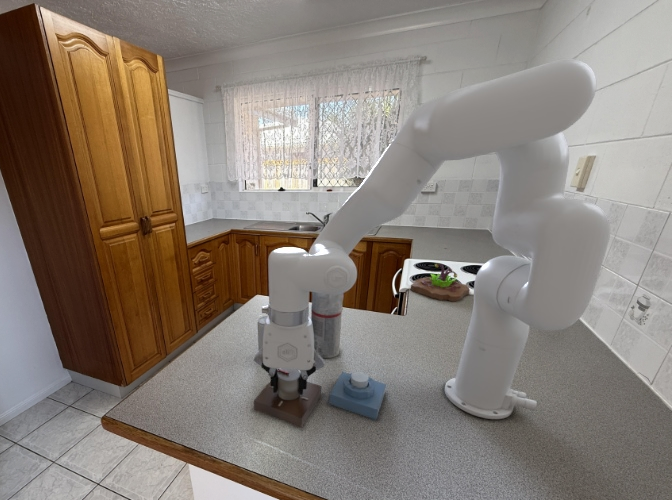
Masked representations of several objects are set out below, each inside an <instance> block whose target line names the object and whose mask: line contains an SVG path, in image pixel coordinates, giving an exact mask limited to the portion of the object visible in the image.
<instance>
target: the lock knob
mask: <svg viewBox="0 0 672 500" xmlns="http://www.w3.org/2000/svg"><path fill="white" fill-rule="evenodd" d="M300 373H301V372H300V370H291V369H278V373H277V387H278V395H279V397H280V398H282V399H284V400H294V399H296V398H297V397H298V396H299V395H300V394H299V387H300Z"/></svg>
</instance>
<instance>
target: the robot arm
mask: <svg viewBox="0 0 672 500" xmlns="http://www.w3.org/2000/svg"><path fill="white" fill-rule="evenodd" d="M596 91H597V78H596V74H595V72H594V70H593V68H592V67H591V66H590V65H588V63H586V62H584V61H583V60H580V59H575V58H560V59H555V60H552V61H549V62H546V63H543V64H542V63H541V64H540V65H536V66H533V67H530V68H527V69H524V70H523V69H522V70H520V71H517V72H513V73H510V74H507V75H504V76H500V77H497V78H494V79H490V80H486V81H482V82H478V83H475V84H471V85H468V86H467V85H466V86H464V87H460V88H456V89H454V90H451V91H448V92H446V93H444V94H442V95H440V96H437V97H434V98H432V99H430V100H427V101H426V102H424V103H422V104H420V106H418V107H417V108H415V110H413V112H412V113H411V114H410V115H409V116H408V118H407V119H406V120H405V122H404V123H403V125H402V126H401V127H400V129H399V130H398V132H397V133H396V134H395V135H394V137H393V139H392V140H391V141H390V143H389V144H388V146H387V147H386V149H385V151H383V153H382V155H381V156H379V158H378V160H377V162H376V163H375V164H374V166H373V167H372V169H371V170H370V171H369V173H368V175H367V176H366V177H365V178H364V180H363V181H362V183H361V184H360V185H359V186H358V188H357V189H355V190H354V191H353V193H351V195H350V196H349V197H348V199H346V200H345V202H344V203H343V204H342V205H341V206H340V207H339V208H338V209H337V210H336V211H335V213H334V214H333V215H332V216H331V218H330V219H329V220H328V221H327V223H326V224H325V226H324V227H323V228H322V230H321V231H320V232H319V234H318V236H317V237H316V239H315V240H314V242H313V243H312V244H311V246H310V249H309V250H308V251H306V250H305V249H303V248H299V247H280V248H277V249H276V248H275V249H274V250H272V251H271V252H270V253H269V254H268V259H267V265H268V266H267V269H268V271H267V272H268V303H269V304H268V305H264V306H261V313H262V314H266V315H267V316H268V317H267V319H266V321H265V326H264V334H263V347H262V349H261V350H260V351H259V350H258V352H256V354H255V355H254V357H253V362H254V363H256V364H257V365H259V366H261V368H262V370H264V371H265V372H266V373H267V375H268V377H270V378H269V380H270V381H269V382H270V383H271V386H272V387H273V393H276V392H277V389H278V387H277V373H278V370H279V369H291V370H298V371H299V372H300V387H299V394H300V395H303V389H306V388H307V382H308V379H309V377H310V376H311V375H313V374H314V373H316V371H318V370H321V369H322V368H324V367H325V366H326V365H325V363H326V362H325V359H324V358H322V357H321V356H320V355H319V354H318V352H317V351H316V350H315V349H314V332H313V325H312V320H311V316H309V313H310V311H309V309H310V293H312V292H317V293H323V294H333V295H334V294H341V293H346V292H348V291H349V290H350V289H352V288H353V286H354V285H355V284H356V281H357V279H358V269H357V266H356V264H355V262H354V261H353V260H352V258H351V257H350V256H349V255H350V254H351V253H352V252H353V250H354V249H355V247H356V246H357V245H358V243H359V242H360V241H361V240H362V239H363V238H364V237H365V236H366V235H368V233H370V232H372V230H374V229H375V228H377V227H379V226H382V225H384V224H386V223H389V222H391V221H394V220H396V219H397V218H399V217H401V216H402V215H403V214H405V212H406V211H407V210H408V209H409V208H410V207H411V205H412V204H413V203H414V201H415V200H416V198H417V197H418V196H419V195H420V193H421V192H422V191H423V189H424V188H425V187H426V185H427V184H428V183H429V182H430V181H431V179H432V178H433V177H434V175H435V174H436V173H437V172H438V171H439V170H440V168H441V167H442V165H443V164H444V163H445V162H447V161H448V162H449V161H461V160H465V159H467V160H468V159H470V158H471V159H472V158H475V157H481V156H484V155H488V154H493V153H495V155H496V157H497V160H498V163H499V180H498V189H497V196H496V201H495V207H494V214H493V220H492V225H491V229H492V230H491V236H492V239H493V242H494V243H495V244H496V245H497V246H499V247H501V248H503V249H505V250H507V251H510V252H512V253H515V254H518V255H520V256H516V255H509V254H508V255H507V254H506V255H499V256H496V257H494V258H491V259H489V260H487V261H486V262H484V264H482V266H480V268H479V270H478V271H477V273H476V276H475V278H474V284H473V302H472V303H473V304H472V311H471V316H470V321H469V324H468V328H467V333H466V336H465V341H464V344H463V347H462V352H461V355H460V360H459V364H458V368H457V371H456V375H455V377H453V378H450V379H448V380H447V381H446V383H445V385H444V394H445V396H446V398H447V399H448V400H449V401H450V403H452V404H453V405H454V406H456V407H457V408H458V409H460V410H462V411H464V412H465V413H467V414H470V415H472V416H475V417H478V418H481V419H487V420H502V419H505V418H508V417H510V416H511V415H512V413H513V411H514V408H515V407H521V408H523V409H527V410H531V411H534V412H535V411H536V410H537V406H538V403H537V400H533V399H530V398H527V393H526V392H523V391H519V390H514V389H513V388H512V384H513V381H514V378H515V375H516V372H517V369H518V366H519V364H520V362H521V361H520V360H521V358H522V356H523V352H524V349H525V346H526V344H527V341H528V338H529V335H530V327H531V328H533V329H535V330H539V331H543V332H557V331H558V332H559V331H562V330H565V329H567V328H570V327H571V326H572V325H574V324H575V323H576V322H578V321H579V320H580V319H581V317H582V316H583V315H584V313H585V312H586V310H587V308H588V307H589V304H590V302H591V300H592V297H593V294H594V291H595V289H596V285H597V282H598V278H599V275H600V272H601V269H602V265H603V262H604V260H605V257H606V252H607V250H608V245H609V242H610V238H611V225H610V220H609V218H608V216H607V215H608V214H606V212H605V211H604V210H603V208H602V207H600V206H598V205H597V204H595V203H593V202H591V201H587V200H583V199H578V198H567V197H565V190H566V189H565V188H566V184H567V176H568V171H569V165H570V150H569V149H570V148H569V144H568V141H567V138H566V135H565V134H564V131H566V130H567V129H569V128H570V127H572V126H573V125H575V124H576V123H577V122H578V121H579V120H580V119H581V118H582V117H583V116H584V115H585V113H586V112H587V111H588V109H589V107H590V106H591V104H592V102H593V101H594V98H595V95H596ZM521 256H523V257H521ZM525 257H526V258H525ZM527 258H528V259H527ZM530 259H531V260H530Z"/></svg>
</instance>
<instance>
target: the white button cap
mask: <svg viewBox="0 0 672 500" xmlns="http://www.w3.org/2000/svg"><path fill="white" fill-rule="evenodd" d="M351 373H352V374H351ZM351 373H350V374H351V385H352V386H353V387H355V388H359V389H365V388H366V387H367V386H368V379H369V378H368V376H369V375H368V374H367V373H365V372H362V371H354V372H351Z"/></svg>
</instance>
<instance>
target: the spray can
mask: <svg viewBox="0 0 672 500" xmlns="http://www.w3.org/2000/svg"><path fill="white" fill-rule="evenodd" d="M344 293H345V292H344ZM344 293H341V294H334V295H333V294H323V293H317V292H311V297H312V299H311V308H310V309H311V310H310V315H311V316H310V318H311V320H312V325H313V332H314V349H315V350H316V351H317V352H318V354H319V355H320V356H321V357H322V358H323V359H332V358H333V359H334V358H335V357H338V356H339V355H340V353H341V351H340V345H341V344H340V343H341V330H342V327H341V326H342V315H343V310H344V308H343V307H344V306H343V301H344V298H345V297H344Z"/></svg>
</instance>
